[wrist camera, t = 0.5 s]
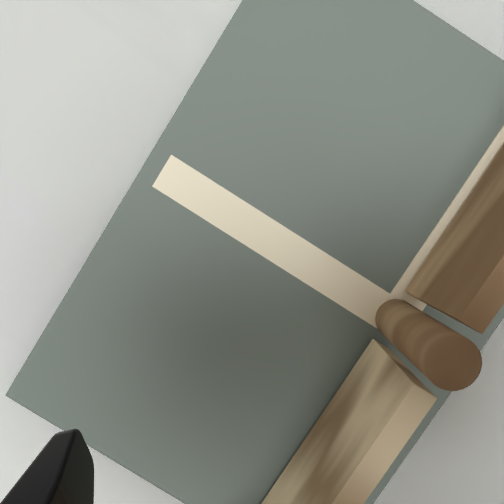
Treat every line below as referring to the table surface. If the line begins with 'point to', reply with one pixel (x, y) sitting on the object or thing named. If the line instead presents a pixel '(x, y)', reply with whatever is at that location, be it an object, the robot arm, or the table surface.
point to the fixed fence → (455, 289)
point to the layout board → (270, 243)
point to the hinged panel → (356, 434)
